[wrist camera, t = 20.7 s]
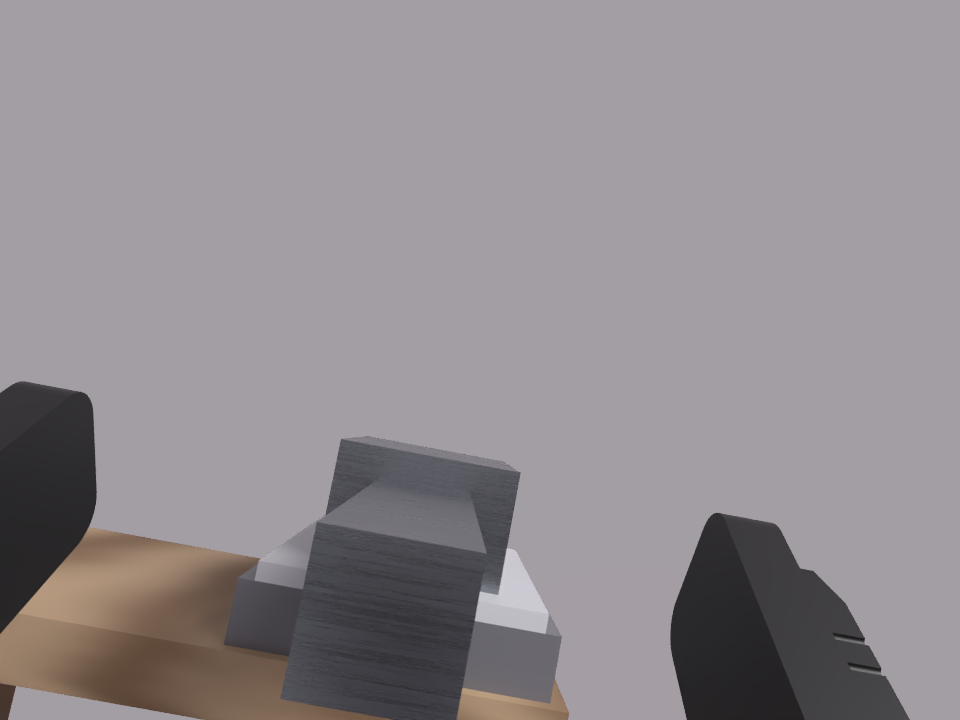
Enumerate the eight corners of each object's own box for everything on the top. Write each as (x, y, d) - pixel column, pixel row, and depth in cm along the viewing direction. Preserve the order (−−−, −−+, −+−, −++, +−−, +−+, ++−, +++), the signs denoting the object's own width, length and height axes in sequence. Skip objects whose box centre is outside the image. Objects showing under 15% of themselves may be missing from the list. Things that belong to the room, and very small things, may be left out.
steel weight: (486, 553, 32) (503, 461, 32) (541, 746, 13) (581, 512, 13) (349, 527, 32) (368, 436, 32) (192, 683, 12) (243, 448, 13)
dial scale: (513, 601, 36) (531, 498, 36) (550, 703, 22) (578, 538, 23) (308, 564, 35) (329, 460, 36) (223, 644, 22) (259, 479, 23)
